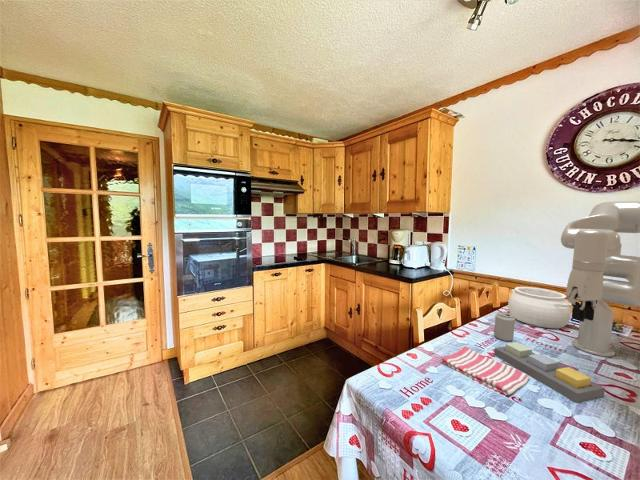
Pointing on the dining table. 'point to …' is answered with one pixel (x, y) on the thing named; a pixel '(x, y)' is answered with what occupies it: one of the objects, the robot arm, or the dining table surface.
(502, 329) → the can
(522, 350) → the sage button
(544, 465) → the dining table surface
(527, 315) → the pot
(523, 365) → the button board
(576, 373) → the mustard button
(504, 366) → the dish towel
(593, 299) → the robot arm
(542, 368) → the blue button
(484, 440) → the dining table surface
